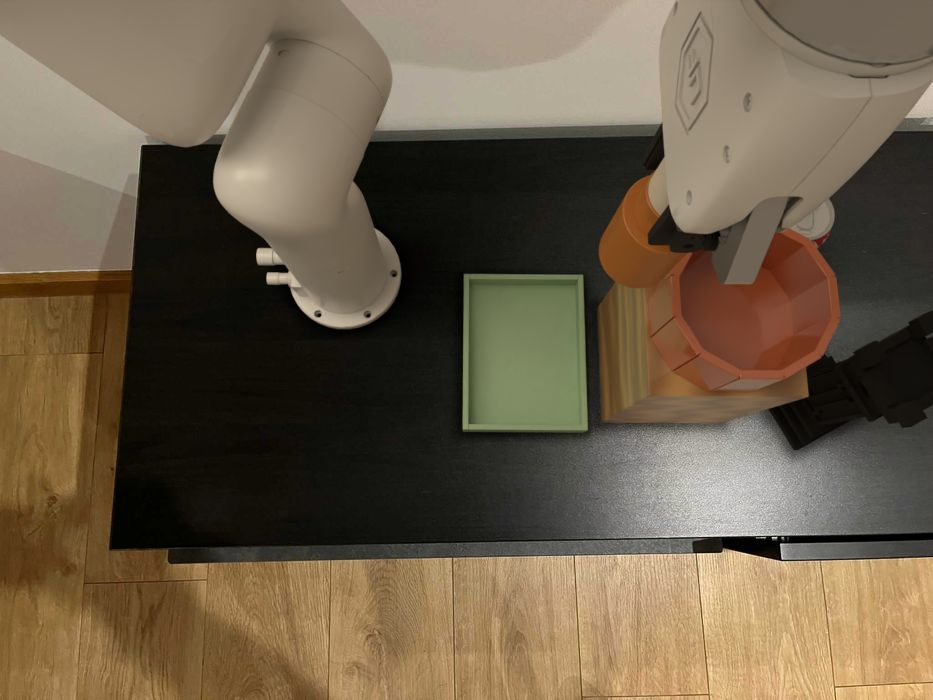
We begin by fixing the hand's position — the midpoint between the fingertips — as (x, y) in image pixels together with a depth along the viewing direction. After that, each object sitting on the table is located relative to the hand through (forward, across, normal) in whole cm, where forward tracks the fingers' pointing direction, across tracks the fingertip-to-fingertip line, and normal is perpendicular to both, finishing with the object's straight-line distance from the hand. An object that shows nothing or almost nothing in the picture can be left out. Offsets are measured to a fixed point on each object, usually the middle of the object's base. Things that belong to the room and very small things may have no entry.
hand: (674, 200), depth 37 cm
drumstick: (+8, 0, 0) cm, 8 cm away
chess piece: (+41, +5, +27) cm, 50 cm away
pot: (+21, +1, +11) cm, 24 cm away
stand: (+41, +1, +11) cm, 43 cm away
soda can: (+41, -12, +23) cm, 49 cm away
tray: (+42, 0, -4) cm, 42 cm away
